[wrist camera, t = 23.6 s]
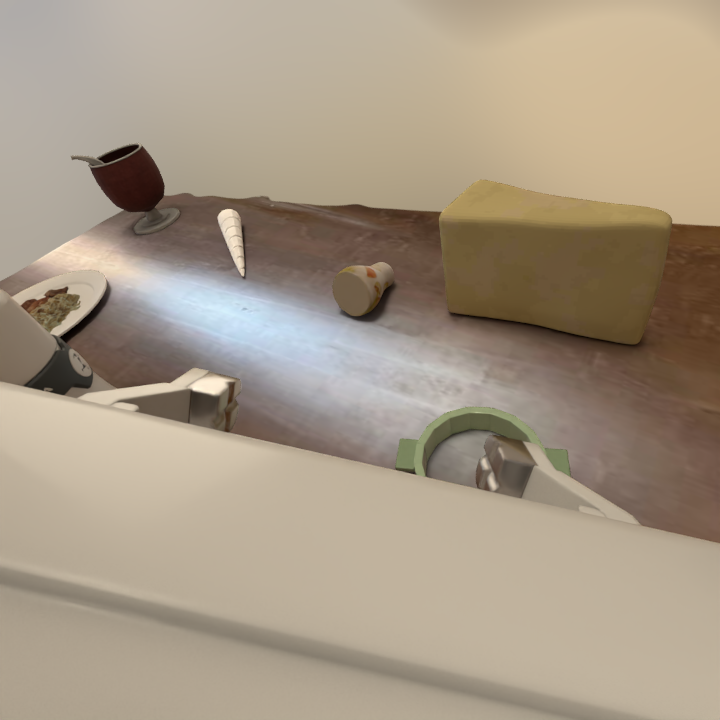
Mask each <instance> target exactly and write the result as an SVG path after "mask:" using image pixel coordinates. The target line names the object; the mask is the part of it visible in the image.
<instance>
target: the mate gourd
mask: <svg viewBox="0 0 720 720" xmlns="http://www.w3.org/2000/svg"><path fill="white" fill-rule="evenodd" d="M71 158H72V160H73V159H78V160H83V161H86V162H89V167H90V169H91V171H92V174H93V175H94V177H95V179H96V181H97V183H98V185H99V186H100V187H101V189H102V190H103V192H104V193H105V194H106V196H107V197H108V198H109V199H110V200H111V201H112V202H113V203H114V204H115V205H116V206H117V207H120V208H121V209H124V210H126V211H128V212H145V213H146V217H144V218H143V219H141V220H140V221H139V222H138V223H137V224H136V225H135V226H134V231H135V232H136V233H137V234H140V235H144V234H149V233H153V232H156V231H159V230H161V229H163V228H165V227H167V226H169V225H170V224H172V223H173V222H174V221H175V220H177V218H178V217H179V215H180V212H179V210H178V209H176V208H167V209H163V210H159V211H158V210H157V209H156V208H155V206H156V205H157V204H158V202H159V201H160V200H161V199H162V198H163V196H164V182H163V179H162V176H161V174H160V171H159V169H158V167H157V166H156V164H155V162H154V160H153V159H152V157H151V156H150V155H149V154H148V153H147V151H146V150H145V149H144V147H143V146H142V144H140V143H134V144H129V145H126V146H122V147H120V148H117V149H114V150H111V151H109V152H107V153H105V154H103V155H101V156H99V157H97V158H94V157H89V156H71Z"/></svg>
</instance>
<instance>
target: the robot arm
mask: <svg viewBox="0 0 720 720" xmlns="http://www.w3.org/2000/svg"><path fill="white" fill-rule="evenodd" d="M240 393H241V380H240V379H238V378H234V377H230V376H226V375H222V374H218V373H213V372H210V371H207V370H202V369H197V368H193V369H191V370H190V371H188V372H187V373H185V374H184V375H182V376H181V377H179V378H178V379H176V380H175V381H173V382H171V383H170V384H168V383H159V384H151V385H144V386H136V387H129V388H121V389H117V388H115V387H114V386H112V385H111V384H109V383H108V382H106V381H105V380H103V379H102V378H101V377H99V376H98V375H97V374H95V373H94V372H93V371H92V369H91V367H90V366H89V365H88V364H87V362H86V361H85V360H84V359H83V358H82V357H81V356H80V355H79V354H78V353H77V352H76V351H75V350H73V349H72V348H71V347H70V346H69V345H67V344H66V343H65V342H64V341H63V340H62V339H61V338H60V337H58V336H56V335H53V334H50V333H49V332H48V331H47V330H46V329H45V328H43V327H42V326H41V325H40V324H39V323H38V322H37V321H36V320H35V319H34V318H33V317H32V316H31V315H30V314H29V313H28V312H27V311H26V310H24V309H23V308H22V307H21V306H20V305H19V304H18V303H17V302H16V301H15V300H14V299H13V298H12V297H11V296H10V295H9V294H8V293H6V292H5V291H3V290H2V289H0V720H720V543H716V542H712V541H707V540H703V539H698V538H694V537H689V536H685V535H681V534H676V533H672V532H667V531H663V530H658V529H654V528H650V527H645V526H641V524H640V523H639V522H638V521H637V520H636V519H635V517H634V516H632V515H631V514H629V513H627V512H626V511H624V510H623V509H621V508H619V507H618V506H616V505H615V504H613V503H611V502H610V501H608V500H606V499H605V498H603V497H602V496H600V495H598V494H597V493H595V492H594V491H592V490H590V489H589V488H587V487H586V486H584V485H582V484H581V483H579V482H577V481H576V480H574V479H573V478H571V477H569V476H568V475H566V474H565V473H563V472H561V471H557V470H556V469H555V468H554V466H553V465H552V463H551V462H550V461H549V459H548V458H547V456H546V455H545V453H544V452H543V450H542V449H541V448H540V446H539V445H538V444H535V443H529V442H524V441H521V440H516V439H511V438H506V437H501V436H496V435H489V436H488V438H487V440H486V442H485V445H484V449H485V452H486V455H485V456H483V457H482V458H481V459H479V463H478V466H477V470H476V484H477V487H478V489H477V488H472V487H468V486H463V485H459V484H454V483H450V482H445V481H441V480H437V479H432V478H428V477H423V476H419V475H414V474H410V473H405V472H401V471H397V470H392V469H388V468H383V467H379V466H374V465H370V464H365V463H361V462H356V461H352V460H348V459H343V458H339V457H334V456H330V455H325V454H321V453H316V452H312V451H308V450H303V449H299V448H294V447H290V446H285V445H281V444H276V443H272V442H267V441H263V440H259V439H254V438H250V437H245V436H241V435H236V434H232V433H228V432H230V430H231V429H232V428H233V426H234V424H235V421H236V419H237V415H238V409H239V404H238V403H237V401H236V399H235V398H236V397H237V396H238V395H239V394H240Z"/></svg>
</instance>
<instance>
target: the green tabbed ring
mask: <svg viewBox="0 0 720 720" xmlns="http://www.w3.org/2000/svg"><path fill="white" fill-rule="evenodd" d="M469 429H475V430H490V431H493V432H495V433H498V434H500V435H503V436H505V437H508V438H511V439H516V440H521V441H524V442H529V443H535V444H538V445H539V446H540V448H541V449H542V450H543V452H544V453H545V455H546V456H547V458H548V459H549V461H550V462H551V463H552V465H553V466H554V468H555V469H556V470H557V471H561V472H563V473H565V474H566V475H568V476H569V477H571V475H570V468H569V460H568V452H567V450H563V449H548V448H545V449H544V447H543V445H542V444H541V442H540V440H539V439H538V437H537V435H536V433H535V432H534V431H533V430H532V429H531V428H530V427H528V426H527V425H526V424H525V423H523V422H522V421H521V420H520V419H518V418H517V417H516V416H515V417H514V415H511V414H508V413H506V412H503V411H500V410H497V409H494V408H492V409H491V408H489V407H465V408H461V409H457V410H454V411H450V412H447V413H445V414H443V415H442V416H440V417H439V418H438V419H436V420H435V421H433V422H432V423H430V424H429V425H428V426H427V428H426V429H425V431H424V432H423V434H422V435H421V437H420V438H419V440H413V439H400V443H399V448H398V454H397V459H396V465H395V468H396V470H399V471H410V472H414V471H415V473H416V475H419V476H423V477H426V469H427V461H428V459H429V457H430V455H431V454H432V452H433V451H434V449H435V447H436V446H437V445H438V444H439V443H440V442H442V441H443V440H445V439H446V438H447V437H449V436H450V435H451V434H455V433H458V432H462V431H466V430H469Z"/></svg>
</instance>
